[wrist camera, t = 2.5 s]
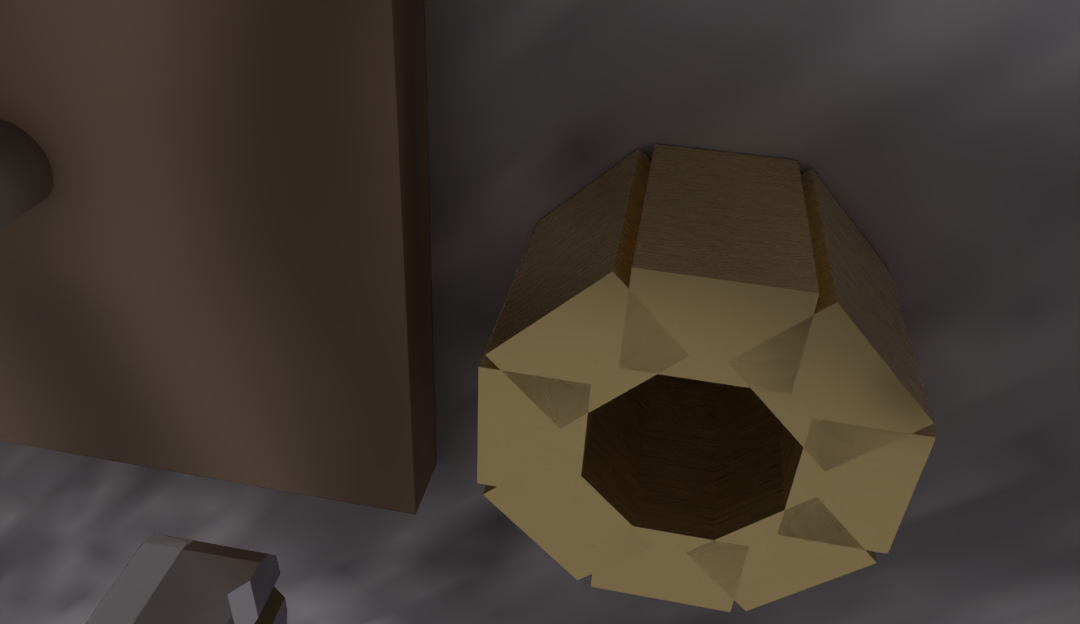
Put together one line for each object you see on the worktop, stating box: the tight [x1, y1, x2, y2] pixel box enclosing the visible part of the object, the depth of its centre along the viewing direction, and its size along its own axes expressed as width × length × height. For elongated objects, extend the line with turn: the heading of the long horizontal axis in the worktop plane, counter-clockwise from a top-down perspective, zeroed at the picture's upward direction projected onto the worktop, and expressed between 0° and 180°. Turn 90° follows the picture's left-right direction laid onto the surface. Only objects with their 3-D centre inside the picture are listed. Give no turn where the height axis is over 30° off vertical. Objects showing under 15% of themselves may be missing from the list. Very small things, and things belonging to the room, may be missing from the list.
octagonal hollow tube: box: [477, 144, 936, 612], centre depth 14 cm, size 6×6×4 cm
